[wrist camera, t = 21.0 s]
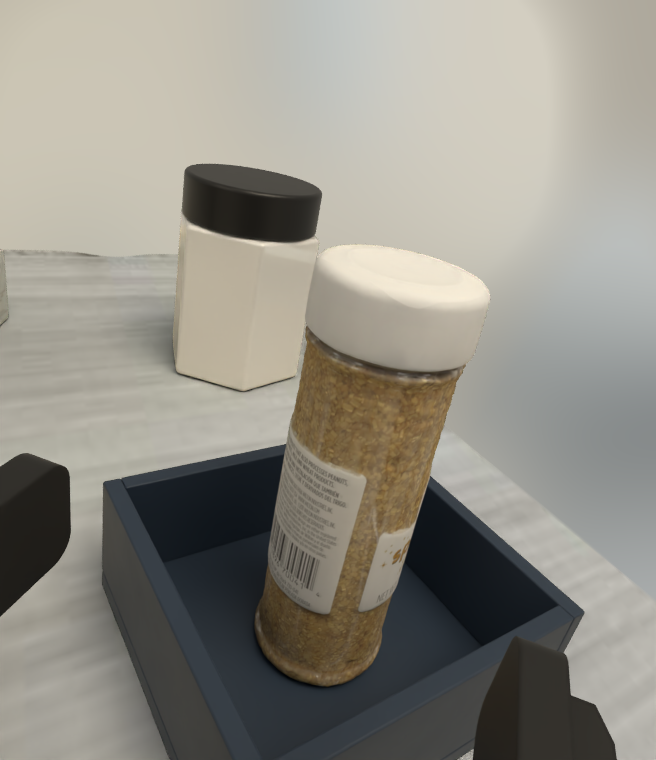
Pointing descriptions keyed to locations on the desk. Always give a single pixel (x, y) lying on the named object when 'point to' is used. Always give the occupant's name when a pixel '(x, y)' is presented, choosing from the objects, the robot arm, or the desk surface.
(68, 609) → the desk surface
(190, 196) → the jar
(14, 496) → the robot arm
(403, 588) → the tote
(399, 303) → the sprinkles bottle
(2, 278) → the small box
